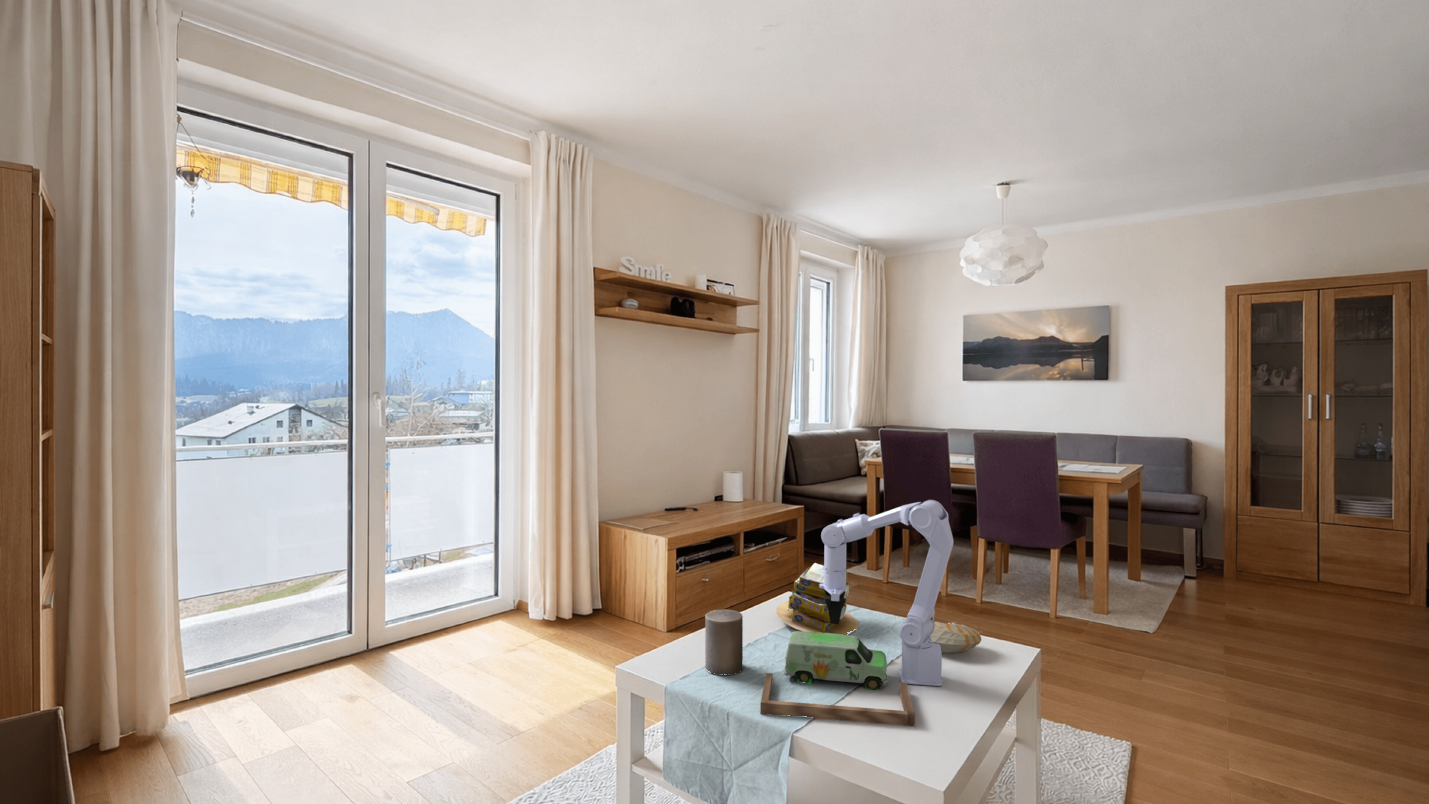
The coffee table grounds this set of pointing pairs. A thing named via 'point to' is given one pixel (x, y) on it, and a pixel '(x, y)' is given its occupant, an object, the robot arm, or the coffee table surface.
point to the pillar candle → (724, 641)
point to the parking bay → (839, 709)
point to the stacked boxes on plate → (813, 606)
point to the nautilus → (954, 637)
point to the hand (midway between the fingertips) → (834, 619)
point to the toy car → (834, 659)
